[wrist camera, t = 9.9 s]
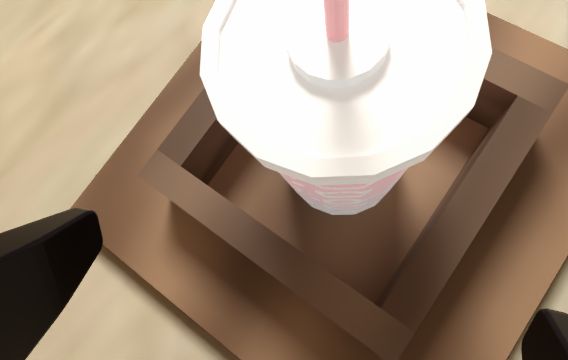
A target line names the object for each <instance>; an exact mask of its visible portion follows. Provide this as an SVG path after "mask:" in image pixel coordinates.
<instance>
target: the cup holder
mask: <svg viewBox="0 0 568 360" xmlns="http://www.w3.org/2000/svg"><path fill="white" fill-rule="evenodd" d="M487 19H488V26H489V33H490V40H491V47H492V55H491V58H490V61H489V64H488V67H487V70H486V73H485V76H484V78H483V81H482V84H481V87H480V90H479V93H478V96H477V99H476V102H475V105H474V107H473V108H472V110H471V111H470V112H469V113H468V114H467V115H466V116H465V117H464V119H463V120H462V121H461V122H460V123H459V124H458V125H457V126H456V127H455V128H454V129H453V130H452V132H451V133H450V134H449V135H448V136H447V137H446V138H445V139H444V140H443V141H442V142H441V143H440V144H439V145H438V146H437V147H436V148H435V149H434V150H433V151H432V152H431V154H430V155H429V156H428V157H427V158H426V159H425V160H424V161H422V162H420V163H417V164H415V165H413V166H410V167H408V169H407V170H406V171H405V172H404V174H403V175H402V176H401V177H400V178H399V180H398V181H397V182H396V183H395V185H394V186H393V187H392V188H391V189H390V191H389V192H388V193H387V194H386V195H385V196H384V197H383V198H382V199H381V200H380V201H379V202H378V203H377V204H376V205H375V206H373V207H371V208H368V209H366V210H364V211H362V212H359V213H357V214H352V215H332V214H329V213H326V212H324V211H321V210H318V209H316V208H313V207H312V206H311V205H310V204H308V203H307V202H306V201H305V200H304V199H303V198H302V197H301V196H300V195H299V194H298V193H297V192H296V191H295V190H294V189H293V188H292V187H291V185H290V184H289V183H288V182H287V181H286V180H285V179H284V178H283V177H282V175H281V174H280V173H279V172H277V171H274V170H271V169H269V168H266V167H264V166H263V165H262V164H261V163H260V162H259V161H258V160H257V159H256V158H255V157H254V156H253V155H252V154H251V153H249V152H248V151H247V150H246V149H245V148H244V147H243V146H242V145H241V144H240V143H239V142H238V141H237V140H236V139H235V138H234V137H233V136H232V135H231V134H229V132H228V131H227V130H226V129H225V128H224V127H223V126H222V125H221V124H220V123H219V122H218V120H217V117H216V115H215V112H214V110H213V107H212V105H211V102H210V100H209V97H208V95H207V92H206V89H205V87H204V84H203V82H202V79H201V77H200V61H201V44H202V41H201V42H200V43H199V44H198V46H197V47H196V48H195V50H194V51H193V52H192V53H191V55H190V56H189V57H188V58H187V60H186V61H185V62H184V64H183V65H182V66H181V67H180V69H179V70H178V71H177V73H176V74H175V75H174V76H173V78H172V79H171V80H170V82H169V83H168V84H167V85H166V87H165V88H164V89H163V90H162V92H161V93H160V94H159V96H158V97H157V98H156V99H155V101H154V102H153V103H152V105H151V106H150V107H149V108H148V110H147V111H146V112H145V114H144V115H143V116H142V117H141V119H140V120H139V121H138V122H137V124H136V125H135V126H134V128H133V129H132V130H131V131H130V133H129V134H128V135H127V137H126V138H125V139H124V140H123V142H122V143H121V144H120V146H119V147H118V148H117V149H116V151H115V152H114V153H113V155H112V156H111V157H110V158H109V160H108V161H107V162H106V163H105V165H104V166H103V167H102V169H101V170H100V171H99V172H98V174H97V175H96V176H95V178H94V179H93V180H92V181H91V183H90V184H89V185H88V187H87V188H86V189H85V190H84V192H83V193H82V194H81V195H80V197H79V198H78V199H77V201H76V202H75V203H74V204H73V206H72V207H71V208H70V209H72V208H75V207H81V208H85V209H90V210H93V211H95V212H96V214H97V216H98V219H99V224H100V228H101V232H102V237H103V245H104V246H105V247H106V248H107V249H109V250H110V251H111V252H112V253H113V254H115V255H116V256H117V257H118V258H119V259H121V260H122V261H123V262H124V263H125V264H127V265H128V266H129V267H130V268H131V269H133V270H134V271H135V272H136V273H137V274H139V275H140V276H141V277H142V278H143V279H145V280H146V281H147V282H148V283H149V284H151V285H152V286H153V287H154V288H155V289H157V290H158V291H159V292H160V293H161V294H163V295H164V296H165V297H166V298H167V299H169V300H170V301H171V302H172V303H173V304H175V305H176V306H177V307H178V308H179V309H181V310H182V311H183V312H184V313H185V314H187V315H188V316H189V317H190V318H191V319H193V320H194V321H195V322H196V323H197V324H198V325H200V326H201V327H202V328H203V329H204V330H206V331H207V332H208V333H209V334H210V335H212V336H213V337H214V338H215V339H216V340H218V341H219V342H220V343H221V344H222V345H224V346H225V347H226V348H227V349H228V350H230V351H231V352H232V353H233V354H234V355H236V356H237V357H238V358H239V359H240V360H506V359H507V357H508V356H509V354H510V352H511V350H512V349H513V347H514V345H515V344H516V342H517V340H518V339H519V337H520V335H521V334H522V332H523V330H524V328H525V327H526V325H527V323H528V322H529V320H530V318H531V317H532V315H533V313H534V311H535V310H536V308H537V306H538V305H539V303H540V301H541V300H542V298H543V296H544V295H545V293H546V291H547V289H548V288H549V286H550V284H551V283H552V281H553V279H554V278H555V276H556V274H557V272H558V271H559V269H560V267H561V266H562V264H563V262H564V261H565V259H566V257H567V256H568V49H566V48H564V47H561V46H559V45H557V44H555V43H553V42H550V41H548V40H546V39H544V38H542V37H539V36H537V35H535V34H533V33H531V32H528V31H526V30H524V29H522V28H520V27H517V26H515V25H513V24H511V23H509V22H506V21H504V20H502V19H500V18H498V17H495V16H493V15H491V14H489V13H487Z"/></svg>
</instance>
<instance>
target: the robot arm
mask: <svg viewBox="0 0 568 360" xmlns="http://www.w3.org/2000/svg"><path fill="white" fill-rule="evenodd" d="M102 245H103V237H102V232H101V228H100V224H99V219H98V216H97V214H96V212H95V211H93V210H90V209H85V208H81V207H75V208H72V209H69V210H66V211H63V212H61V213H58V214H55V215H52V216H49V217H46V218H43V219H40V220H37V221H34V222H32V223H29V224H26V225H23V226H20V227H17V228H14V229H11V230H8V231H5V232H3V233H0V360H25V359H26V358H27V357H28V356H29V354H30V353H31V352H32V350H33V349H34V348H35V346H36V345H37V344H38V342H39V341H40V340H41V339H42V337H43V336H44V335H45V333H46V332H47V331H48V329H49V328H50V327H51V325H52V324H53V323H54V321H55V320H56V319H57V318H58V316H59V315H60V313H61V312H62V311H63V309H64V308H65V306H66V305H67V303H68V302H69V300H70V299H71V297H72V296H73V294H74V292H75V291H76V289H77V288H78V286H79V284H80V283H81V281H82V280H83V278H84V276H85V275H86V273H87V271H88V270H89V268H90V267H91V265H92V263H93V262H94V260H95V259H96V257H97V255H98V254H99V252H100V250H101V248H102ZM521 350H522V360H568V314H566V313H564V312H559V311H555V310H550V309H540V310H539V311H538V312H537V313H536V315H535V317H534V319H533V321H532V322H531V324H530V326H529V328H528V330H527V332H526V333H525V335H524V337H523V340H522V348H521Z"/></svg>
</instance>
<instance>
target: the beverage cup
mask: <svg viewBox="0 0 568 360" xmlns="http://www.w3.org/2000/svg"><path fill="white" fill-rule="evenodd" d="M491 55H492V47H491V40H490V33H489V26H488V19H487V12H486V5H485V0H216V1H215V3H214V5H213V7H212V9H211V11H210V13H209V15H208V17H207V19H206V21H205V23H204V25H203V27H202V44H201V61H200V77H201V79H202V82H203V84H204V87H205V89H206V92H207V95H208V97H209V100H210V102H211V105H212V107H213V110H214V112H215V115H216V117H217V120H218V122H219V123H220V124H221V125H222V126H223V127H224V128H225V129H226V130H227V131H228V132H229V134H231V135H232V136H233V137H234V138H235V139H236V140H237V141H238V142H239V143H240V144H241V145H242V146H243V147H244V148H245V149H246V150H247V151H248V152H249V153H251V154H252V155H253V156H254V157H255V158H256V159H257V160H258V161H259V162H260V163H261V164H262V165H263V166H264V167H266V168H269V169H271V170H274V171H277V172H279V173H280V174H281V175H282V177H283V178H284V179H285V180H286V181H287V182H288V183H289V184H290V185H291V187H292V188H293V189H294V190H295V191H296V192H297V193H298V194H299V195H300V196H301V197H302V198H303V199H304V200H305V201H306V202H307V203H308V204H310V205H311V206H312V207H313V208H316V209H318V210H321V211H324V212H326V213H329V214H332V215H352V214H357V213H359V212H362V211H364V210H366V209H368V208H371V207H373V206H375V205H376V204H377V203H378V202H379V201H380V200H381V199H382V198H383V197H384V196H385V195H386V194H387V193H388V192H389V191H390V189H391V188H392V187H393V186H394V185H395V183H396V182H397V181H398V180H399V178H400V177H401V176H402V175H403V174H404V172H405V171H406V170H407V169H408V167H410V166H413V165H415V164H417V163H420V162H422V161H424V160H425V159H426V158H427V157H428V156H429V155H430V154H431V152H432V151H433V150H434V149H435V148H436V147H437V146H438V145H439V144H440V143H441V142H442V141H443V140H444V139H445V138H446V137H447V136H448V135H449V134H450V133H451V132H452V130H453V129H454V128H455V127H456V126H457V125H458V124H459V123H460V122H461V121H462V120H463V119H464V117H465V116H466V115H467V114H468V113H469V112H470V111H471V110H472V108H473V107H474V105H475V102H476V99H477V96H478V93H479V90H480V87H481V84H482V81H483V78H484V76H485V73H486V70H487V67H488V64H489V61H490V58H491Z"/></svg>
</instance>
